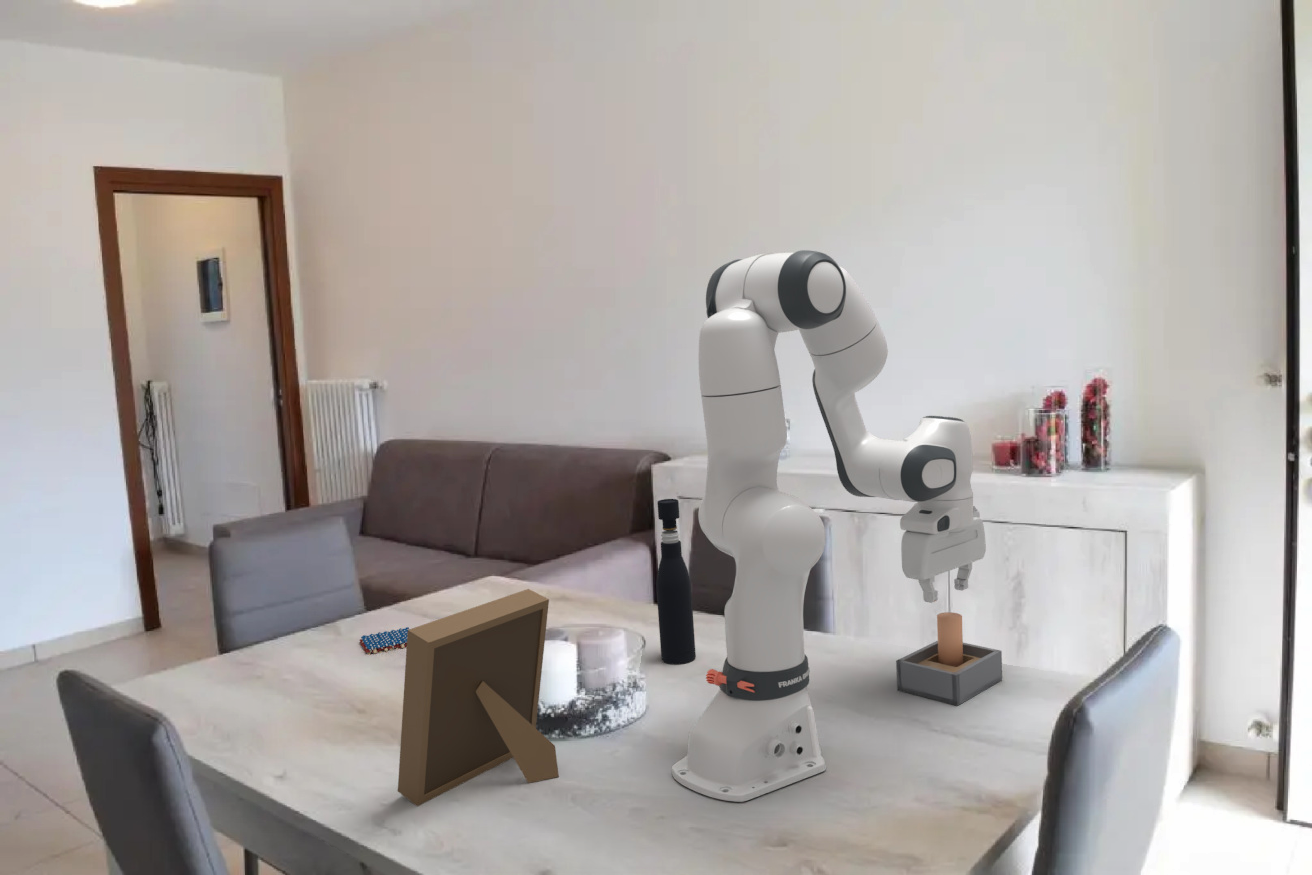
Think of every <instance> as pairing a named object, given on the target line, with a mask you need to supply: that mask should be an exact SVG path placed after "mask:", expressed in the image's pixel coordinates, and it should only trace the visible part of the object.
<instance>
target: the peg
mask: <svg viewBox="0 0 1312 875" xmlns="http://www.w3.org/2000/svg"><path fill="white" fill-rule="evenodd" d="M936 625H937V631H936V632H937V641H938V663H940V664H944V665H949V666H953V667H958V666H960V665H962V664H963V643H964V640H963V636H964V634H963V615H962V614H960V613H958V612H952V611H951V612H949V611H947V612H941V613H938V614H937V615H936Z"/></svg>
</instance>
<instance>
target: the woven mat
mask: <svg viewBox="0 0 1312 875" xmlns="http://www.w3.org/2000/svg"><path fill="white" fill-rule="evenodd" d="M409 629H410V627H405V628H404V627H402V628H398V629H396V630H394V629H391V630H388V631H387V630H385V631H384V632H383V631H381V632H380V631H379V632H377V633H375V634H374V633H370V634H366V635H365V634H364V635H362V636H360V638H361V639H359V645H361V647H362V648H363V651H364V652H365V653H366V654H367V655H368V656H371V655H372V654H374V655H375V654H378V653H380V654H383V651H384V652H388V651H394V649H396V650H399V649H405V648H407V634H408V630H409Z"/></svg>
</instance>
